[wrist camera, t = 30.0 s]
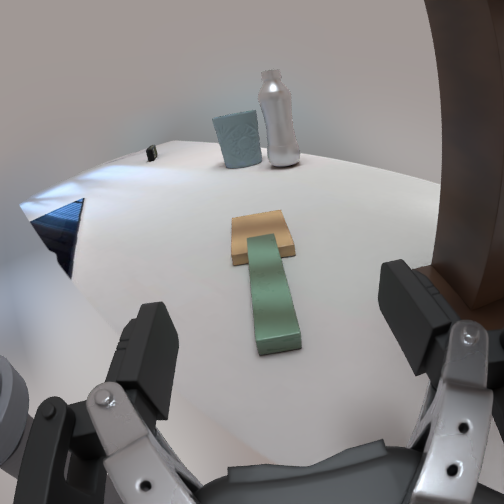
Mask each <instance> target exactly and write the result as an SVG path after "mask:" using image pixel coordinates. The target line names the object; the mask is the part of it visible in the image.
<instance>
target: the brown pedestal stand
mask: <svg viewBox="0 0 504 504" xmlns="http://www.w3.org/2000/svg"><path fill="white" fill-rule="evenodd" d="M424 2H425V5H426V9H427V14H428V18H429V23H430V27H431V32H432V38H433V43H434V49H435V55H436V62H437V70H438V78H439V88H440V99H441V118H442V173H441V191H440V203H439V214H438V223H437V231H436V238H435V245H434V251H433V258H432V263H431V265H428V266H424V267H420V268H416V269H412V270H417V271H419V272H421V273H422V274H424V275H426V276H427V277H428V278H429V279H430V281H431V282H432V283H433V284H434V287H436V288H437V289H438V290H439V291H440V294H442V295H443V296H444V298H445V299H446V300H447V301H448V303H449V304H450V305H451V306H452V308H453V309H454V310H455V312H456V313H457V314H458V315H459V317H460V318H461V319H462V320H472V321H475V322H477V323H479V324H480V325H482V326H483V327H484V328H485V330H497V329H503V327H504V0H424Z"/></svg>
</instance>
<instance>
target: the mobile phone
mask: <svg viewBox="0 0 504 504" xmlns="http://www.w3.org/2000/svg"><path fill="white" fill-rule="evenodd" d="M146 153H147V157H148V161H153V160H155V158H156V157H157V151H156V147H155V145H152V146H150V147H149V148H148V149H147V150H146Z"/></svg>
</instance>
